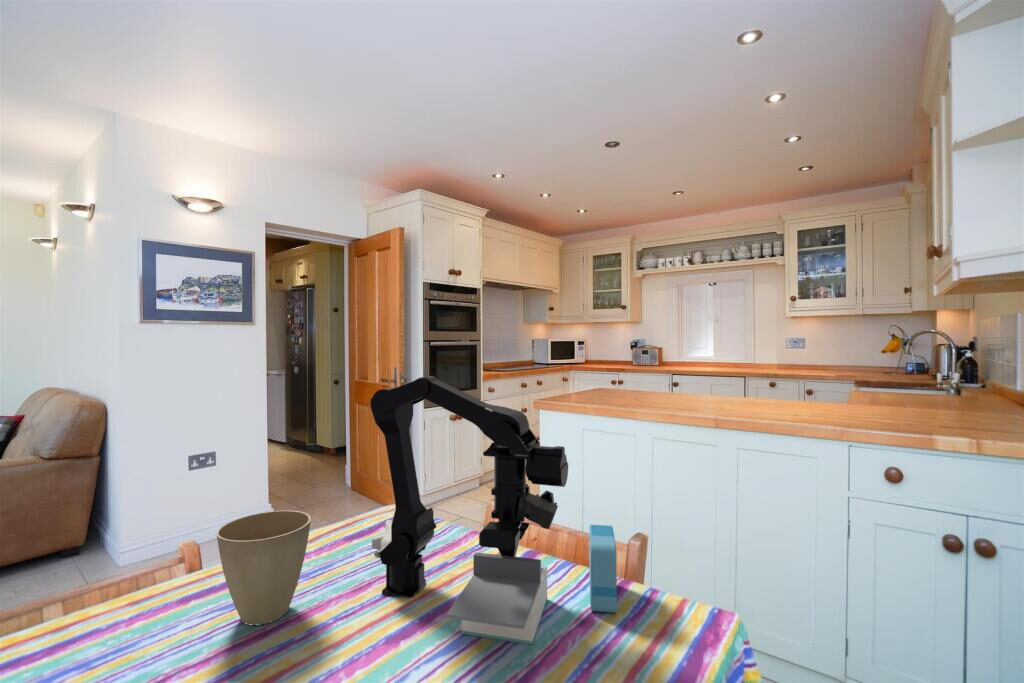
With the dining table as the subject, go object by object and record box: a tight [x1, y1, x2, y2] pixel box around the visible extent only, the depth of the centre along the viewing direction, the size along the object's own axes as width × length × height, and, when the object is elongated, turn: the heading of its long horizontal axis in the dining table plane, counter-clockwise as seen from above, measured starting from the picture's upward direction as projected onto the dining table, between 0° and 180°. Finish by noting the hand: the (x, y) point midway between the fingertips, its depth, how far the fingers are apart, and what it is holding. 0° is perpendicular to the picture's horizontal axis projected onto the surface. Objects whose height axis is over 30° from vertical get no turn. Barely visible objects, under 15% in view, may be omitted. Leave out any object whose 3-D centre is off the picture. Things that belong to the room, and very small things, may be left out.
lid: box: [446, 552, 542, 629], centre depth 77 cm, size 12×14×4 cm
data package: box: [588, 524, 618, 614], centre depth 89 cm, size 12×4×12 cm, turn 172°
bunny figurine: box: [371, 519, 393, 553], centre depth 112 cm, size 10×5×15 cm
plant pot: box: [216, 510, 312, 626], centre depth 84 cm, size 15×15×16 cm
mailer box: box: [461, 565, 548, 645], centre depth 84 cm, size 12×14×6 cm
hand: (510, 567), depth 86 cm, fingers closed
